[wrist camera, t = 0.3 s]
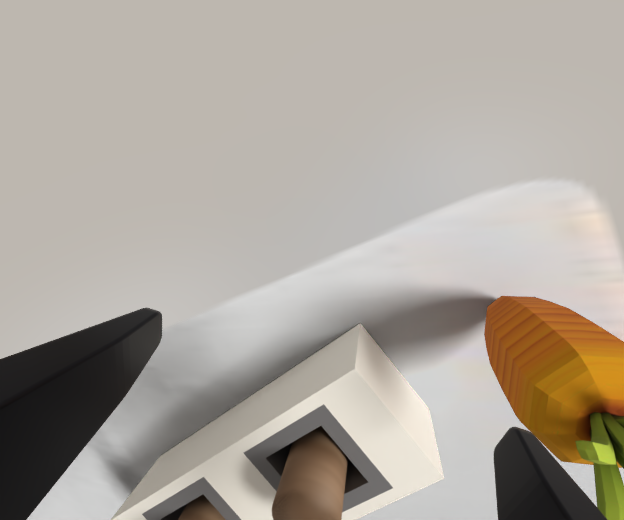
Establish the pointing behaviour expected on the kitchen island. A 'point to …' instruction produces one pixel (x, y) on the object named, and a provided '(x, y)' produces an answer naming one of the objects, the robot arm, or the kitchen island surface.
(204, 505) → the peg far
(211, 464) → the white peg holder block
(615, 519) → the carrot
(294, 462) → the peg near
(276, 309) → the kitchen island surface
